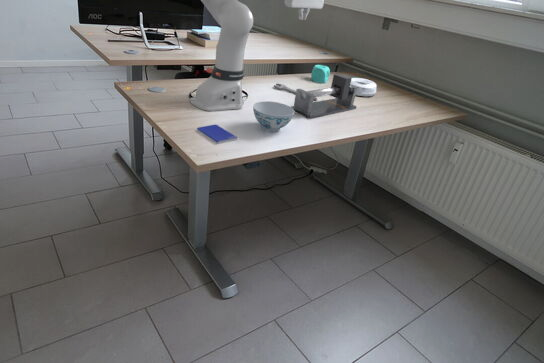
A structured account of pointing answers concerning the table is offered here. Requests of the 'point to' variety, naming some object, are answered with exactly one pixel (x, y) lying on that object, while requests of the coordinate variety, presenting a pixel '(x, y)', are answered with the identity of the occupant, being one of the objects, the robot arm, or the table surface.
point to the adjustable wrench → (287, 89)
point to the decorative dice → (320, 74)
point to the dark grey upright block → (341, 85)
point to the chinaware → (272, 115)
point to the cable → (364, 86)
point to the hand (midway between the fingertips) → (302, 19)
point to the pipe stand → (323, 102)
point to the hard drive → (217, 134)
